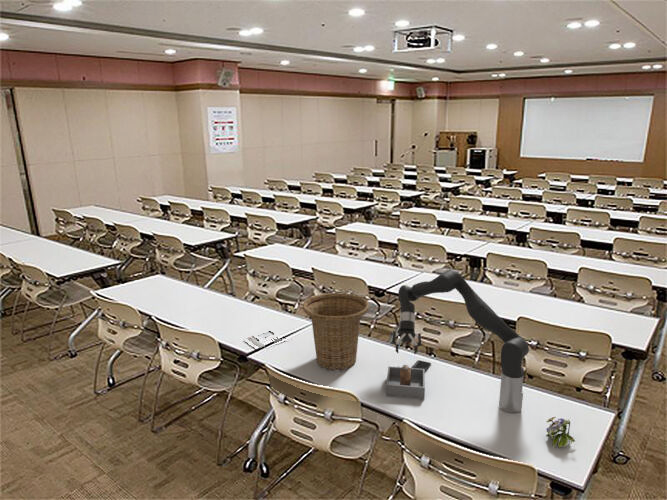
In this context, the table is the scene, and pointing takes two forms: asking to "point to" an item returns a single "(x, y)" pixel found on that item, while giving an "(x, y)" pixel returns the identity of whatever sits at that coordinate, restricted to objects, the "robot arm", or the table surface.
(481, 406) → the table surface
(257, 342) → the office telephone
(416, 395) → the bin
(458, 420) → the table surface
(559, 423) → the passion flower
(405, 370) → the pepper mill
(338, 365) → the wicker basket
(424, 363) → the phone
